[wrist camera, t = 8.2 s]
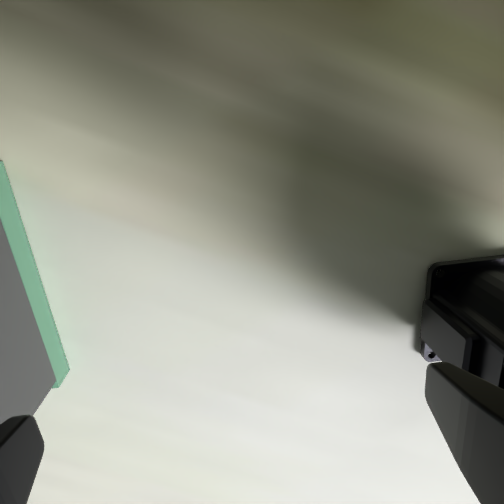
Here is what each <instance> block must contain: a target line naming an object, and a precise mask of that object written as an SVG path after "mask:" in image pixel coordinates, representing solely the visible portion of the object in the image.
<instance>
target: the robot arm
mask: <svg viewBox="0 0 504 504" xmlns="http://www.w3.org/2000/svg"><path fill="white" fill-rule="evenodd" d="M440 269H441V271H440V273H439V274H437V275H436V272H437V271H438V270H440ZM420 337H421V339H422V342H421V355H422V357H423V358H424V359H425V360H426V361H428V362H433V361H442V362H437V363H431V364H429V365H428V366H427V370H426V383H425V397H426V401H427V403H428V406H429V408H430V410H431V412H432V414H433V416H434V418H435V420H436V422H437V424H438V426H439V428H440V430H441V432H442V434H443V436H444V438H445V440H446V442H447V444H448V446H449V448H450V451H451V453H452V455H453V457H454V459H455V461H456V462H457V464H458V466H459V468H460V470H461V472H462V473H463V475H464V477H465V479H466V480H467V482H468V484H469V485H470V487H471V489H472V490H473V492H474V493H475V495H476V497H477V498H478V500H479V502H480V503H481V504H504V255H500V256H491V257H483V258H474V259H465V260H457V261H448V262H439V263H435V264H433V265H431V266H430V268H429V269H428V275H427V286H426V298H425V300H424V302H423V310H422V322H421V333H420ZM430 352H432V353H431V354H429V353H430ZM43 452H44V441H43V438H42V435H41V433H40V430H39V428H38V425H37V423H36V420H35V418H34V417H33V416H32V415H29V414H27V415H19V416H13V417H10V418H9V419H7V420H6V421H4V422H3V423H2V424H0V504H27V501H28V498H29V495H30V492H31V489H32V486H33V483H34V480H35V477H36V474H37V471H38V468H39V465H40V462H41V459H42V456H43Z"/></svg>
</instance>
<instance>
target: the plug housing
mask: <svg viewBox="0 0 504 504" xmlns="http://www.w3.org/2000/svg"><path fill="white" fill-rule="evenodd" d="M55 382H56V377H55V374H54V371H53V368H52V365H51V363H50V360H49V357H48V354H47V351H46V348H45V345H44V343H43V340H42V337H41V334H40V331H39V328H38V325H37V322H36V320H35V317H34V314H33V311H32V308H31V305H30V302H29V299H28V297H27V294H26V291H25V288H24V285H23V282H22V279H21V276H20V274H19V271H18V268H17V265H16V262H15V259H14V256H13V253H12V251H11V248H10V245H9V242H8V239H7V236H6V233H5V230H4V228H3V225H2V222H1V219H0V424H2V423H3V422H4V421H6V420H7V419H9V418H10V417H13V416H19V415H27V414H29V415H32V416H33V415H34V413H35V412H36V410H37V409H38V407H39V406H40V404H41V403H42V401H43V400H44V398H45V397H46V395H47V394H48V392H49V391H50V389H51V388H52V386H53V385H54V383H55Z"/></svg>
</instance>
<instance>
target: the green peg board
mask: <svg viewBox="0 0 504 504" xmlns="http://www.w3.org/2000/svg"><path fill="white" fill-rule="evenodd" d="M0 219H1V222H2V225H3V228H4V230H5V233H6V236H7V239H8V242H9V245H10V248H11V251H12V253H13V256H14V259H15V262H16V265H17V268H18V271H19V274H20V276H21V279H22V282H23V285H24V288H25V291H26V294H27V297H28V299H29V302H30V305H31V308H32V311H33V314H34V317H35V320H36V322H37V325H38V328H39V331H40V334H41V337H42V340H43V343H44V345H45V348H46V351H47V354H48V357H49V360H50V363H51V365H52V368H53V371H54V374H55V377H56V382H55V383H54V385H53V386H52V388H58V387H59V386H60V385H61V383H62V382H63V380H64V378H65V377H66V375H67V373H68V372H69V370H70V369H69V366H68V363H67V359H66V356H65V353H64V350H63V347H62V344H61V341H60V338H59V335H58V331H57V328H56V325H55V322H54V319H53V316H52V313H51V310H50V307H49V304H48V300H47V297H46V294H45V291H44V288H43V285H42V282H41V279H40V276H39V273H38V269H37V266H36V263H35V260H34V257H33V254H32V251H31V248H30V245H29V241H28V238H27V235H26V232H25V229H24V226H23V223H22V220H21V217H20V214H19V210H18V207H17V204H16V201H15V198H14V195H13V192H12V189H11V186H10V182H9V179H8V176H7V173H6V170H5V167H4V164H3V161H0Z"/></svg>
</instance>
